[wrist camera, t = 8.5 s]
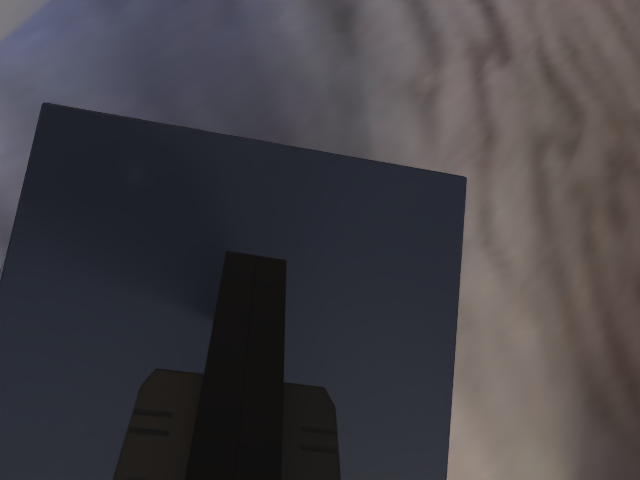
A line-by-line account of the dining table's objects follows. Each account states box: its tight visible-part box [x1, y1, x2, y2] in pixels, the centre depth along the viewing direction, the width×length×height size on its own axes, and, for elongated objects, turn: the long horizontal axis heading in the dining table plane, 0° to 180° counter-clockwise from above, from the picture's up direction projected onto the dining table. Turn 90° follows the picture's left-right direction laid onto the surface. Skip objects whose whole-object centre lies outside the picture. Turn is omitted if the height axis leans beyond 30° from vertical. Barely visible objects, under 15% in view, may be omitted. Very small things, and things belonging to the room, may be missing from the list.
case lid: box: [0, 102, 467, 480], centre depth 16 cm, size 14×13×1 cm
